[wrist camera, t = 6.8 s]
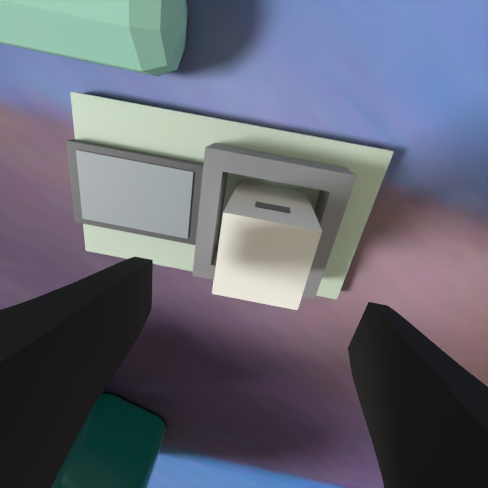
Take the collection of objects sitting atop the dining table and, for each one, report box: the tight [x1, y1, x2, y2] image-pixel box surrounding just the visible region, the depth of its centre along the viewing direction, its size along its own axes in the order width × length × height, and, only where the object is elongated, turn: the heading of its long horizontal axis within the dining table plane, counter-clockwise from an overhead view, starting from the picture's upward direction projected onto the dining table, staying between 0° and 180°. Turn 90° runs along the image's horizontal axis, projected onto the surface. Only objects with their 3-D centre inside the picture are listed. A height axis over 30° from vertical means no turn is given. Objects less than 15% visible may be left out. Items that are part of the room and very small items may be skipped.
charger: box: [212, 180, 322, 310], centre depth 15 cm, size 4×4×6 cm
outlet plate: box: [66, 92, 394, 300], centre depth 17 cm, size 10×18×3 cm, turn 81°
